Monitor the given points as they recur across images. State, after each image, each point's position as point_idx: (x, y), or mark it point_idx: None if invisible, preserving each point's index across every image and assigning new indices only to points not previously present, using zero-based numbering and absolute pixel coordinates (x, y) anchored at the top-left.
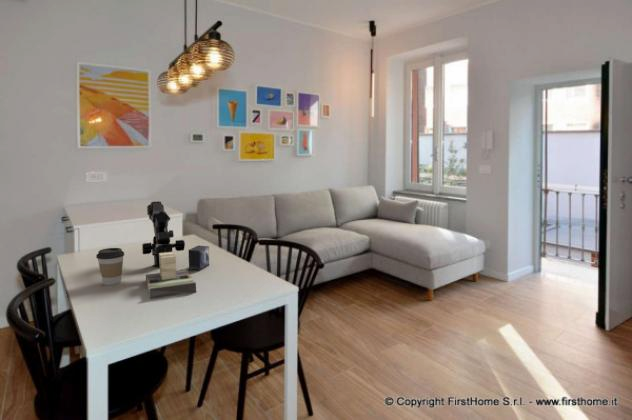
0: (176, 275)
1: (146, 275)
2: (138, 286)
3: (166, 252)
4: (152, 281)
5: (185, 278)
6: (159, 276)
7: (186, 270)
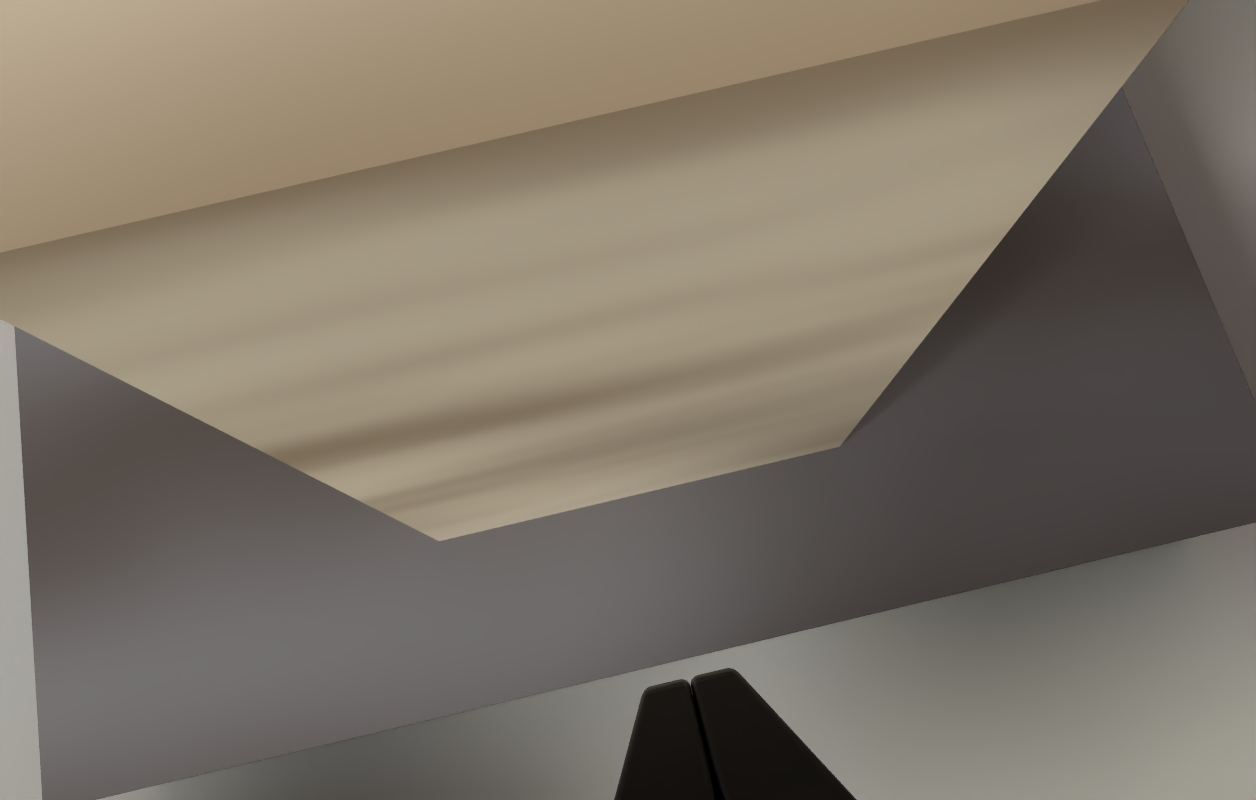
0: None
1: (1238, 419)
2: (1231, 164)
3: (509, 63)
4: None
5: None
6: None
7: (52, 712)
